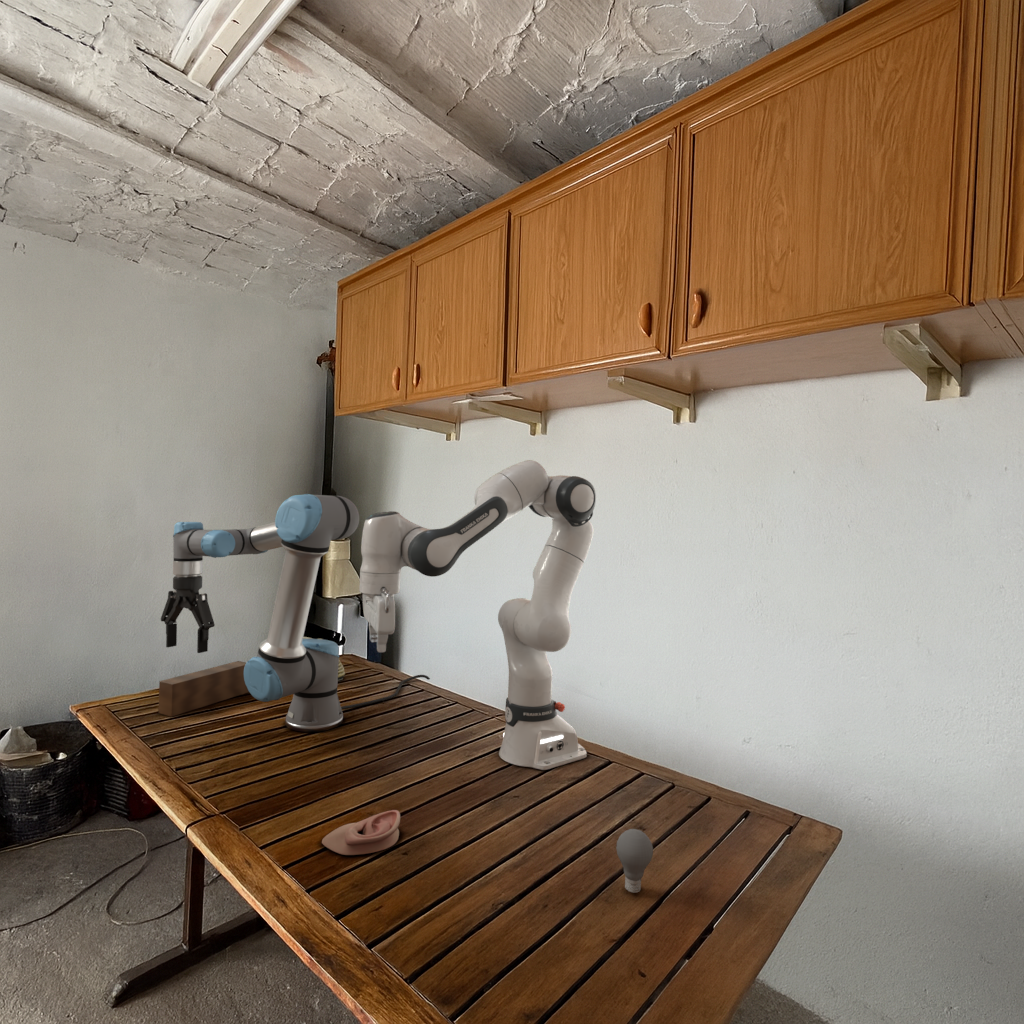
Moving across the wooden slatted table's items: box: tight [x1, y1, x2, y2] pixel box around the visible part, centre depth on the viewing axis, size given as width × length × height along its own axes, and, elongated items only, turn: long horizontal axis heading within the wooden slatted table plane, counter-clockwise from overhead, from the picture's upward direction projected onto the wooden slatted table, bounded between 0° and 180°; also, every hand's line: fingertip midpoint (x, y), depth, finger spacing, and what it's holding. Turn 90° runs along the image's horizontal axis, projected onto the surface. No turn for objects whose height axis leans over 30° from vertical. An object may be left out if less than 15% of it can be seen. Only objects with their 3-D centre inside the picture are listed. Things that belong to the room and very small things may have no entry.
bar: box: [157, 660, 250, 718], centre depth 190 cm, size 27×6×9 cm, turn 154°
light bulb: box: [615, 828, 654, 894], centre depth 106 cm, size 6×6×10 cm
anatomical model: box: [321, 809, 401, 856], centre depth 118 cm, size 13×4×12 cm
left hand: (186, 649), depth 182 cm, fingers open, 13 cm apart
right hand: (377, 646), depth 141 cm, fingers open, 8 cm apart
